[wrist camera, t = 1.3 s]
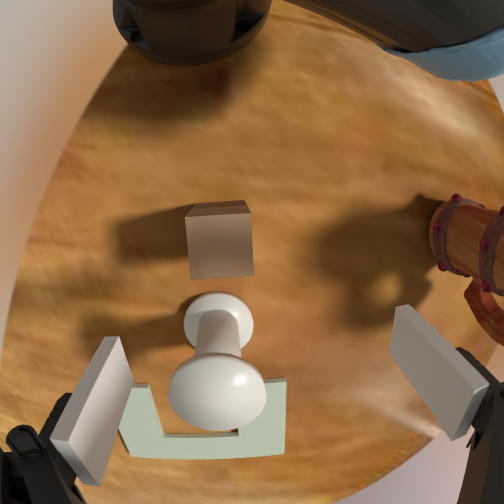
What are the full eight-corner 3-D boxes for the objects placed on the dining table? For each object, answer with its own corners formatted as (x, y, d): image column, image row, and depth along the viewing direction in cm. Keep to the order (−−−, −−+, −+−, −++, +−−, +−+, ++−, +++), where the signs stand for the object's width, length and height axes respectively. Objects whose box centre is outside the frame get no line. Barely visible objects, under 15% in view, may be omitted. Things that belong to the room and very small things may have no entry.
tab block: (195, 203, 29) (184, 217, 21) (244, 200, 29) (250, 213, 22) (199, 250, 30) (190, 279, 23) (246, 247, 31) (253, 275, 23)
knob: (180, 293, 31) (159, 362, 20) (250, 288, 32) (265, 357, 20) (189, 352, 33) (177, 431, 22) (253, 348, 34) (267, 427, 22)
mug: (412, 200, 31) (516, 230, 16) (463, 182, 31) (563, 202, 16) (427, 314, 35) (502, 380, 20) (473, 290, 35) (550, 341, 20)
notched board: (103, 382, 34) (101, 386, 33) (285, 377, 35) (286, 381, 34) (132, 452, 37) (131, 456, 37) (283, 449, 39) (284, 453, 38)
